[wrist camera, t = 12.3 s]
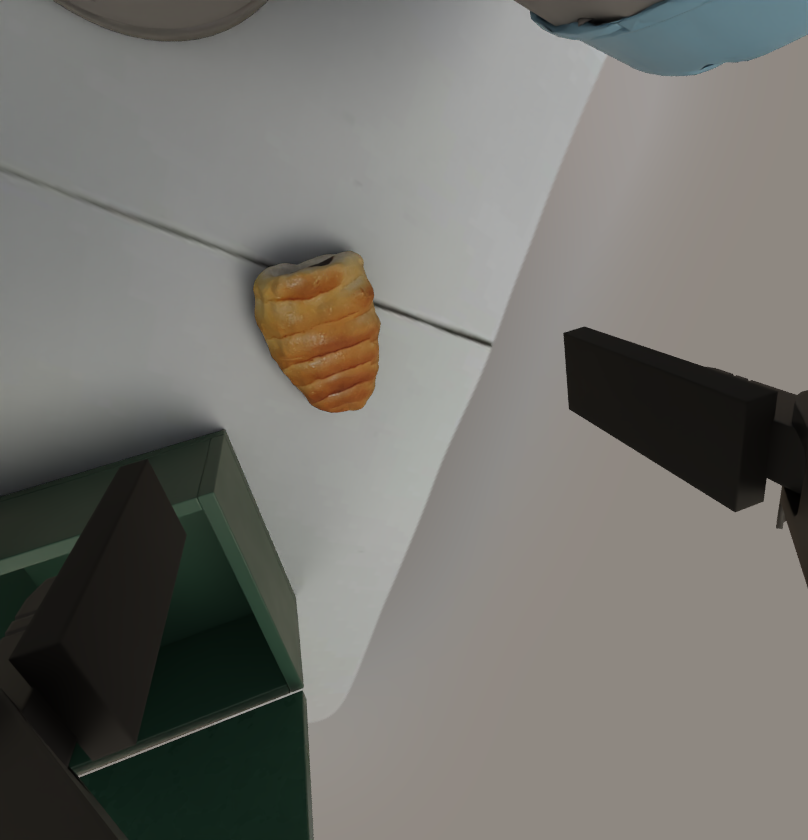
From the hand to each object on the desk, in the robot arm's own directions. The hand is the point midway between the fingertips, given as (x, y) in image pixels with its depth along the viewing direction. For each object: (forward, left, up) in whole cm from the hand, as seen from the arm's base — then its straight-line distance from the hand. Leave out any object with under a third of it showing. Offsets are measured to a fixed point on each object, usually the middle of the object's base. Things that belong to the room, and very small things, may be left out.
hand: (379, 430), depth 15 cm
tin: (+15, +12, -16) cm, 25 cm away
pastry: (0, 0, -16) cm, 16 cm away
